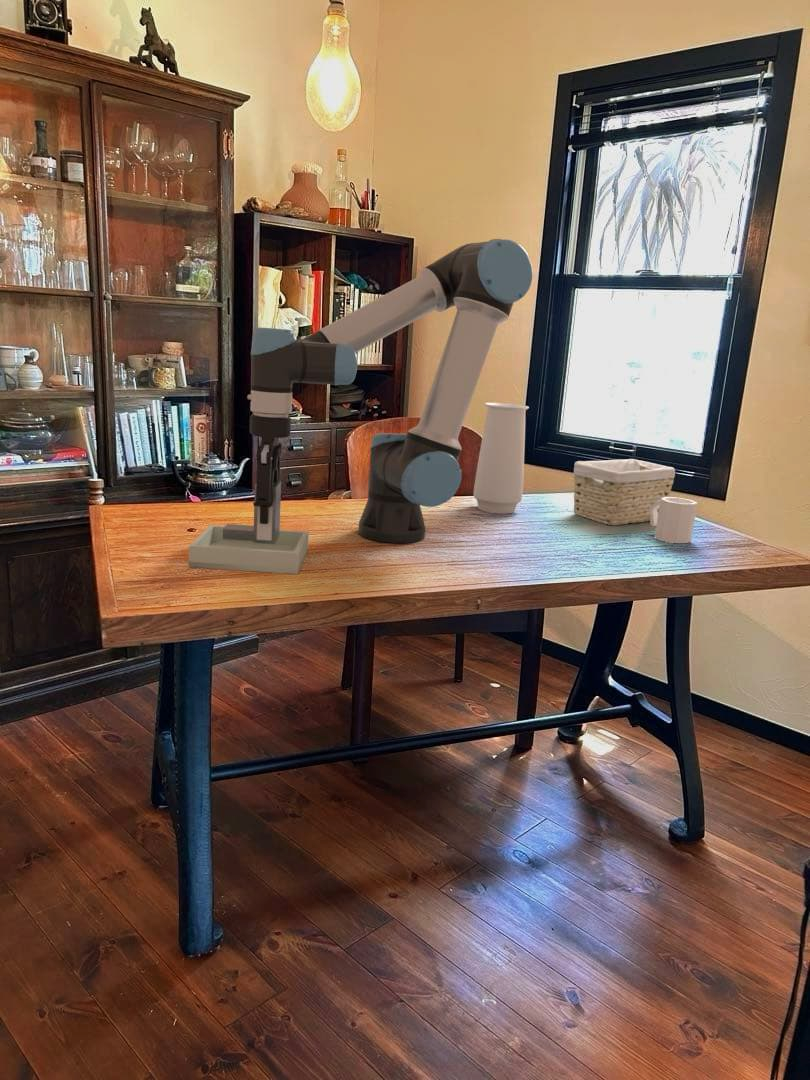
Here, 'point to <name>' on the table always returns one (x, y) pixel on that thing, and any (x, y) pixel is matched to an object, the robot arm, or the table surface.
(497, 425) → the vase
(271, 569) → the tray
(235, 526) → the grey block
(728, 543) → the table surface
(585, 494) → the storage basket
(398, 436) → the robot arm
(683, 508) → the mug
